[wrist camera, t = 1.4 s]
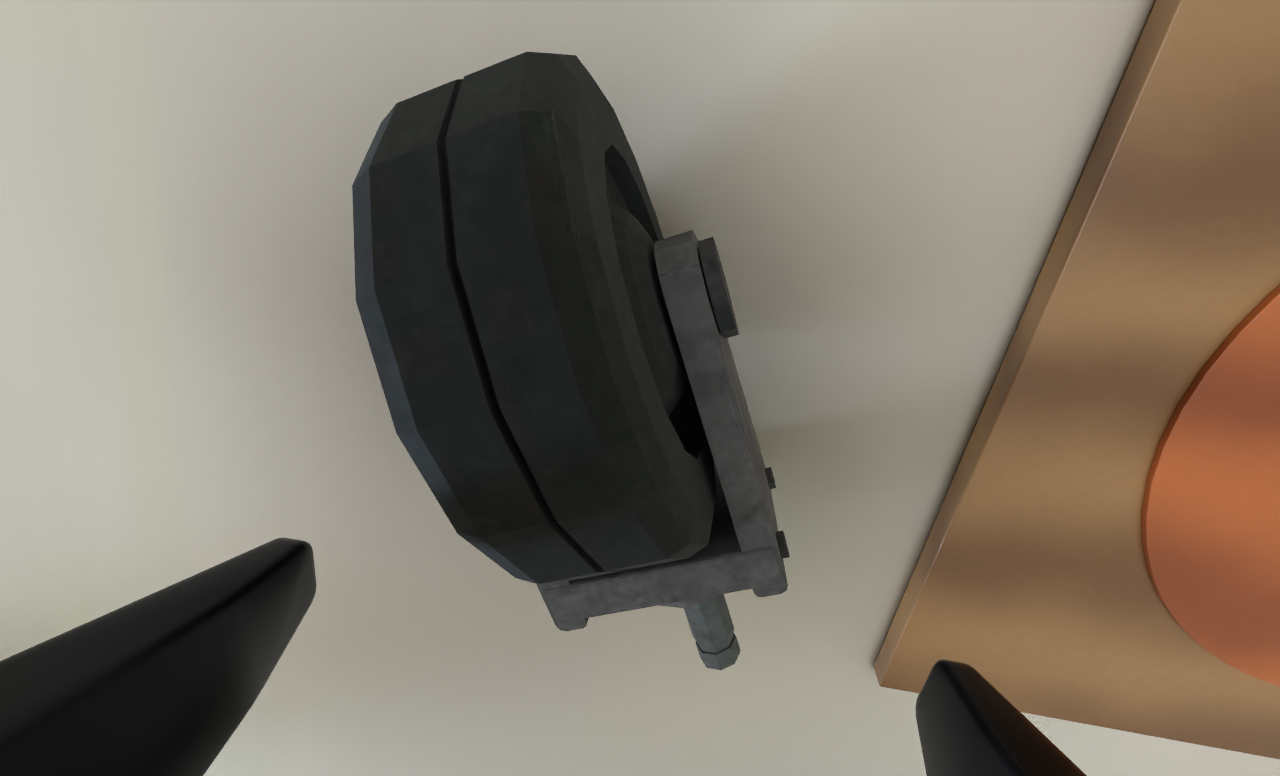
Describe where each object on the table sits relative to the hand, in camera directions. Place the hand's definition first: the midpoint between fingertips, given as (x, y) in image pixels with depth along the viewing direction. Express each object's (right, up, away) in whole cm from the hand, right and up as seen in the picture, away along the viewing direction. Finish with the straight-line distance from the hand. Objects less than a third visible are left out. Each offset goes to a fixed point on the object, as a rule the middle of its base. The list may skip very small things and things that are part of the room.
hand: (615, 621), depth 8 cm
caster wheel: (+1, +4, +8) cm, 9 cm away
